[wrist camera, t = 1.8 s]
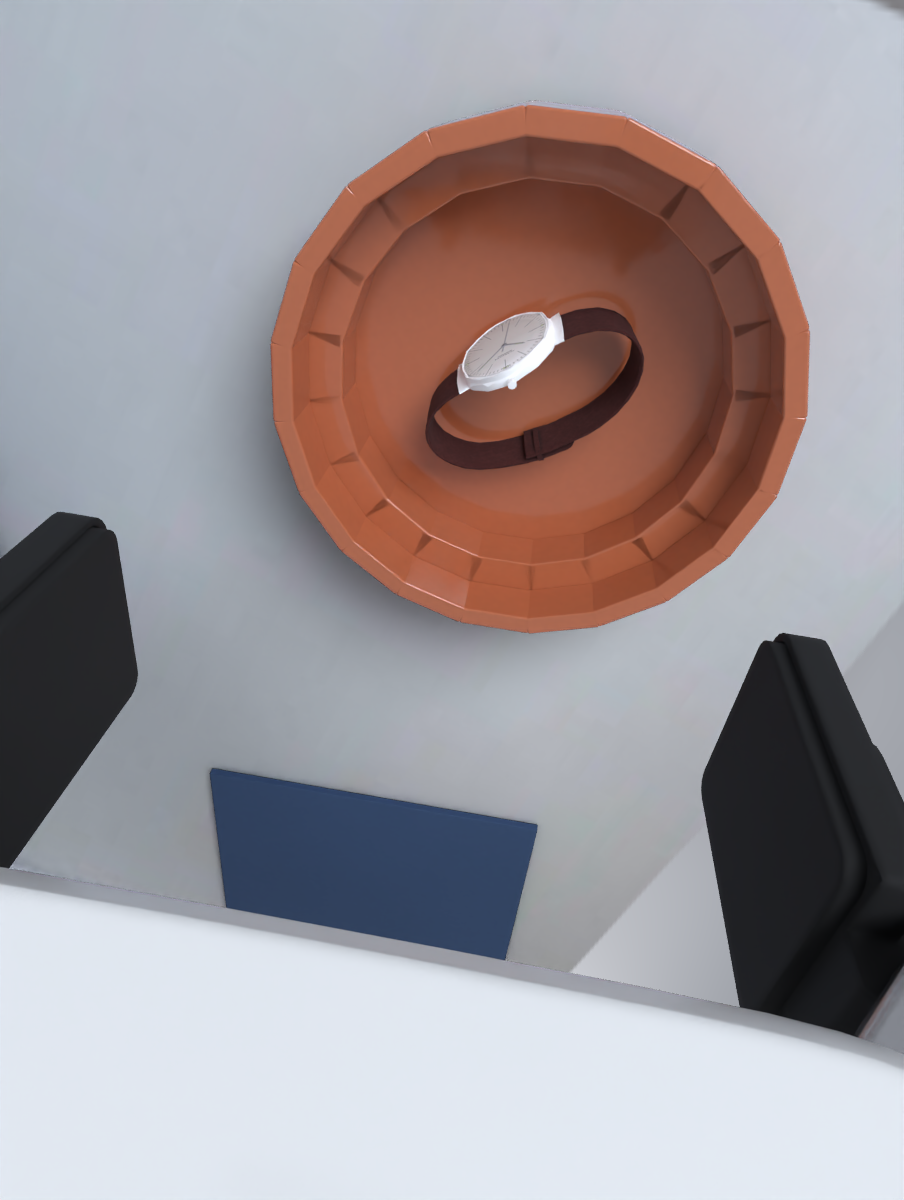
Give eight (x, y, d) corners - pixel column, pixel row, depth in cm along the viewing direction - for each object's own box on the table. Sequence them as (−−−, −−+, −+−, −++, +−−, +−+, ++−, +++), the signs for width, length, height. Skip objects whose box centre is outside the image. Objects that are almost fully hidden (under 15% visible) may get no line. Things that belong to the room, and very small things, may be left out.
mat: (537, 824, 41) (537, 830, 41) (502, 965, 49) (502, 971, 49) (212, 767, 42) (209, 773, 42) (230, 915, 50) (227, 920, 50)
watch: (608, 261, 25) (612, 286, 22) (662, 389, 27) (673, 428, 24) (406, 370, 28) (386, 405, 25) (469, 478, 30) (457, 523, 27)
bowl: (855, 137, 22) (910, 150, 19) (698, 595, 32) (714, 664, 28) (308, 72, 23) (258, 71, 20) (313, 536, 33) (279, 594, 29)
